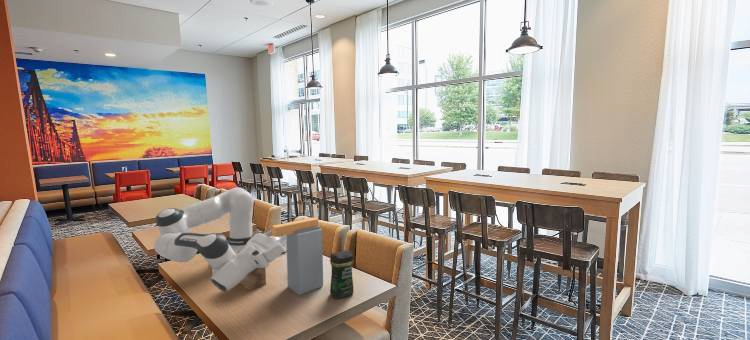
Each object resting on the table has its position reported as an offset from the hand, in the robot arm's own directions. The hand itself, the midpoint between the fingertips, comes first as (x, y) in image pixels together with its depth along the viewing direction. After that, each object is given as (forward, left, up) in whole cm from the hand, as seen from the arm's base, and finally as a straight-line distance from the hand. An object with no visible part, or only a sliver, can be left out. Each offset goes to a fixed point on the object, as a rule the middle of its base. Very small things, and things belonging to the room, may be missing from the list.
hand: (280, 232), depth 143 cm
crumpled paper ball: (-25, +51, -27) cm, 64 cm away
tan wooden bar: (+4, +6, -1) cm, 8 cm away
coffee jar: (+25, +5, -27) cm, 37 cm away
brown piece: (-18, +8, -27) cm, 34 cm away
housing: (+7, +9, -27) cm, 29 cm away
